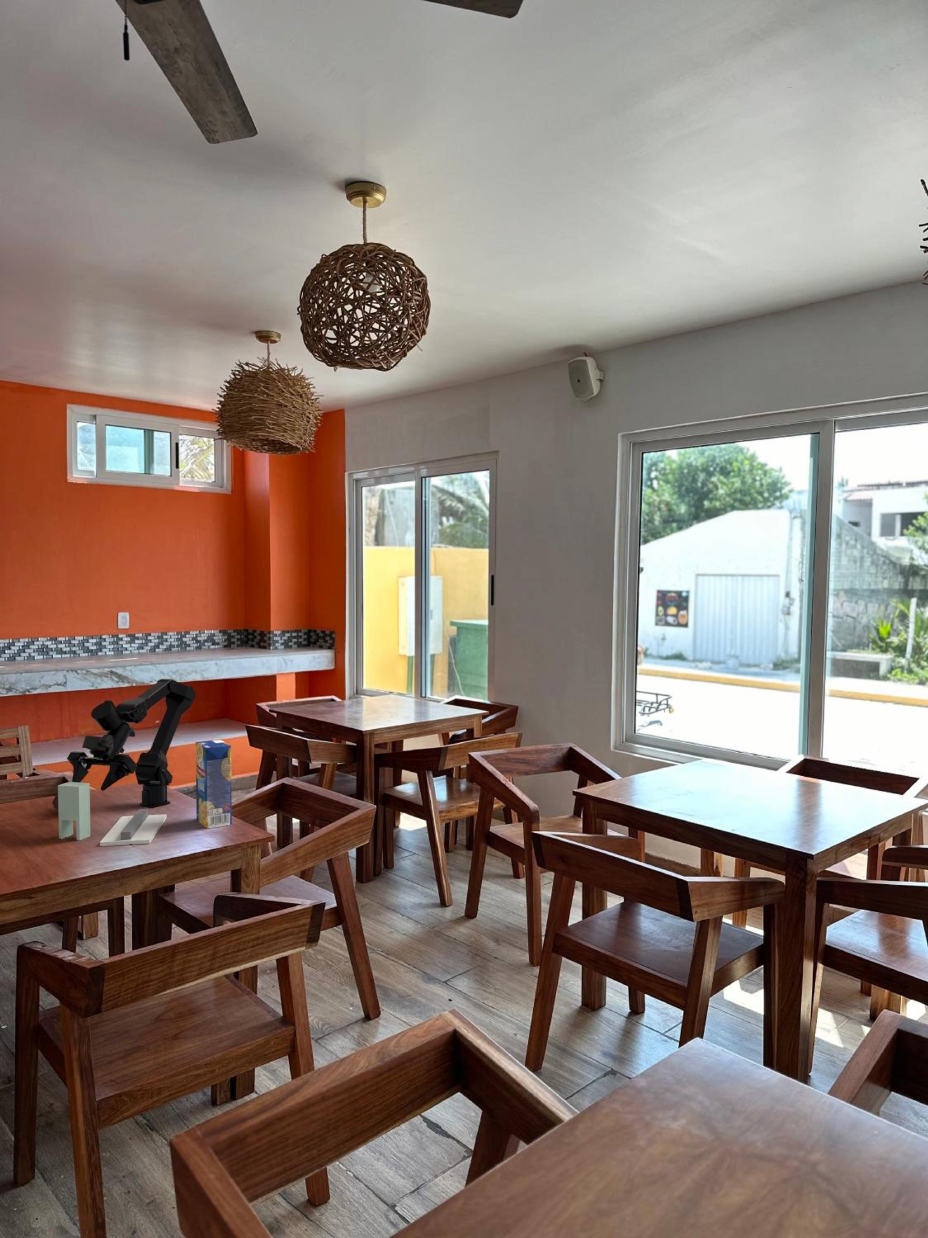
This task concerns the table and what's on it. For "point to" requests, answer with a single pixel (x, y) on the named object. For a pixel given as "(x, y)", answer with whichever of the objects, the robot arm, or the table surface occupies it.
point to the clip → (74, 809)
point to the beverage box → (213, 783)
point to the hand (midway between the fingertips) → (87, 789)
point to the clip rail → (138, 836)
